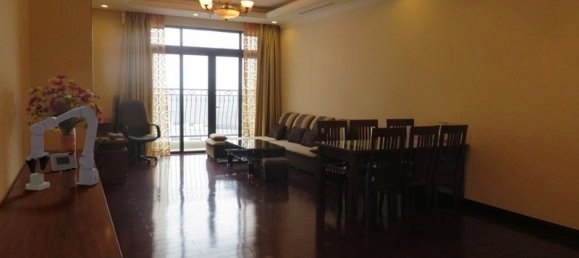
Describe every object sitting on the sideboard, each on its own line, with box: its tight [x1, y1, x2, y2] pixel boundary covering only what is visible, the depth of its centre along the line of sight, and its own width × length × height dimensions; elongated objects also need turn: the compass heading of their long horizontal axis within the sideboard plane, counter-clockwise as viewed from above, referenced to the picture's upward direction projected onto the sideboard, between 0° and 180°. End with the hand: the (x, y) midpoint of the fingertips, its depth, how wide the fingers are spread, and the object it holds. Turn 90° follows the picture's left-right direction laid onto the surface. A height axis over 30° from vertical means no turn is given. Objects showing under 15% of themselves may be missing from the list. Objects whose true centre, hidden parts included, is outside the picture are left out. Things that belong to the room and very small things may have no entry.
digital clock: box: [49, 152, 78, 172], centre depth 276 cm, size 16×9×11 cm, turn 133°
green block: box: [29, 172, 45, 185], centre depth 227 cm, size 4×4×5 cm
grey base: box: [25, 181, 51, 191], centre depth 228 cm, size 8×8×3 cm
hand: (37, 171), depth 227 cm, fingers open, 7 cm apart
